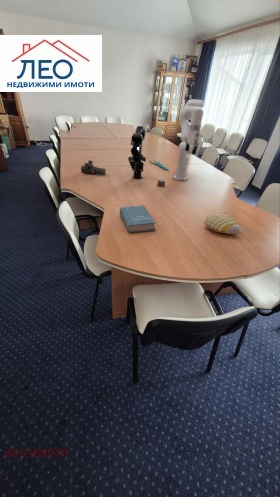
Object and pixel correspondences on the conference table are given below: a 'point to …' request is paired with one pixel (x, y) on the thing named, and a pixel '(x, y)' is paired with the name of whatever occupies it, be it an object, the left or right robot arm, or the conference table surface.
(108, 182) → the conference table surface
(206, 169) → the conference table surface
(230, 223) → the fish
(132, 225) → the book
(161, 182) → the grey metal block
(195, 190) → the conference table surface
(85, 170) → the laser sight
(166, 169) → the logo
